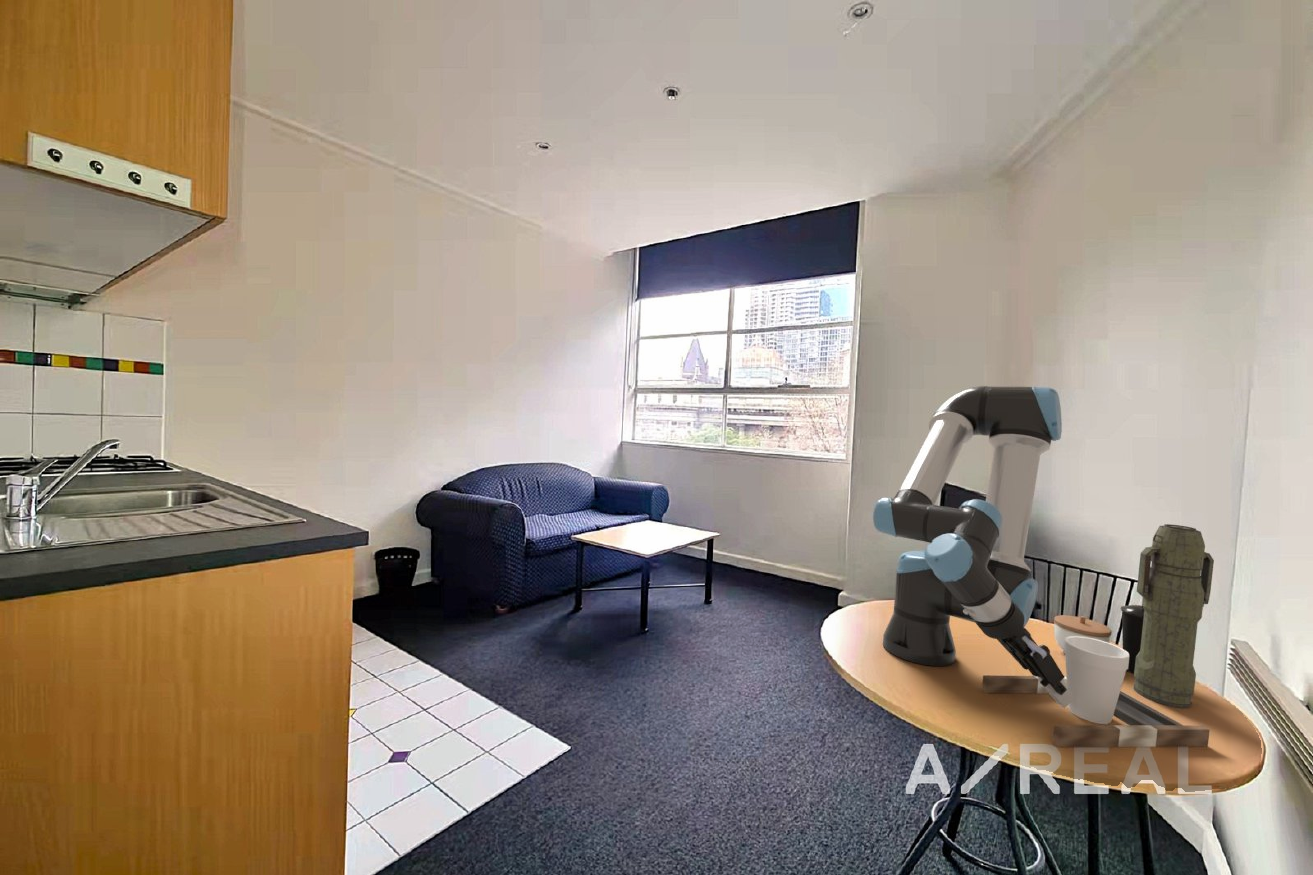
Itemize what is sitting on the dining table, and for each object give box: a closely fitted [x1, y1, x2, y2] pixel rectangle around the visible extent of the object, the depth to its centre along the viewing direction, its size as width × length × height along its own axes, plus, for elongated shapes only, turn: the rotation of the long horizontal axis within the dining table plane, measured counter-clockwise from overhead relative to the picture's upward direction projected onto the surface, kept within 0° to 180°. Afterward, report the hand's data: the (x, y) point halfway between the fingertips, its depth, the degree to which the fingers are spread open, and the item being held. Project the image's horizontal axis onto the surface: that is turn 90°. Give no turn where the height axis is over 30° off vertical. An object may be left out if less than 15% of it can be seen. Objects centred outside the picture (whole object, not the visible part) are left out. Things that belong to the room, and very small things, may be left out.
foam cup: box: [1063, 636, 1129, 725], centre depth 101 cm, size 10×9×13 cm
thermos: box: [1133, 523, 1215, 709], centre depth 110 cm, size 9×12×35 cm
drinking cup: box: [1120, 597, 1144, 675], centre depth 121 cm, size 8×8×20 cm
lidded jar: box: [1053, 614, 1113, 653], centre depth 128 cm, size 11×11×9 cm
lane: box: [981, 674, 1210, 748], centre depth 101 cm, size 28×18×3 cm, turn 96°
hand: (1066, 700), depth 100 cm, fingers closed
